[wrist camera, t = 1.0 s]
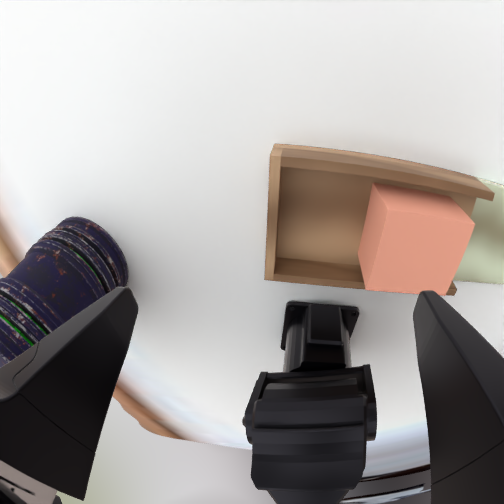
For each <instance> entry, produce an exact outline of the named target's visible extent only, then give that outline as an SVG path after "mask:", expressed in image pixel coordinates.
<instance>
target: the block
mask: <svg viewBox="0 0 504 504" xmlns="http://www.w3.org/2000/svg"><path fill="white" fill-rule="evenodd" d="M474 226H475V223H474V222H473V221H472V220H471V219H470V217H469V216H468V215H467V214H466V213H465V212H464V211H463V210H462V209H461V208H460V206H459V205H458V204H457V203H456V202H455V201H454V200H453V199H452V198H451V197H450V196H446V195H441V194H436V193H431V192H426V191H421V190H415V189H410V188H404V187H398V186H392V185H386V184H379V183H373V184H372V189H371V194H370V200H369V205H368V210H367V214H366V219H365V224H364V228H363V233H362V237H361V241H360V246H359V250H358V258H359V262H360V266H361V271H362V275H363V280H364V284H365V289H366V290H372V291H385V292H398V293H412V294H420V292H421V291H425V290H433V291H435V292H436V293H437V294H438V295H442V296H445V295H446V293H447V291H448V289H449V287H450V284H451V282H452V280H453V278H454V276H455V274H456V271H457V269H458V267H459V265H460V262H461V260H462V257H463V255H464V253H465V250H466V248H467V245H468V243H469V240H470V237H471V235H472V232H473V229H474Z"/></svg>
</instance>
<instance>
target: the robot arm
mask: <svg viewBox="0 0 504 504" xmlns="http://www.w3.org/2000/svg"><path fill="white" fill-rule="evenodd" d="M291 307H293V308H291ZM352 312H355V313H352ZM137 314H138V305H137V302H136V300H135V298H134V296H133V294H132V291H131V290H130V289H129V288H128V287H117V288H115V289H114V290H112V291H111V292H109V293H108V294H106V295H105V296H103V297H102V298H100V299H99V300H97V301H96V302H94V303H93V304H91V305H90V306H88V307H87V308H86V309H84V310H83V311H81V312H80V313H78V314H77V315H75V316H74V317H73V318H71V319H70V320H68V321H67V322H65V323H64V324H63V325H61V326H60V327H58V328H57V329H56V330H54V331H53V332H51V333H50V334H49V335H47V336H46V337H44V338H43V339H42V340H40V342H37V343H36V344H35V345H33V346H32V347H31V348H29V349H28V350H26V351H25V352H24V353H22V354H21V355H19V356H18V357H16V358H15V359H13V360H12V361H10V362H9V363H7V364H5V365H4V366H2V367H1V368H0V504H62V502H61V499H60V497H59V496H57V495H56V493H57V490H58V491H60V492H63V493H65V494H67V495H70V496H72V497H75V498H77V499H80V500H82V501H83V500H84V498H85V494H86V490H87V485H88V481H89V477H90V473H91V469H92V465H93V461H94V457H95V452H96V449H97V445H98V441H99V438H100V434H101V431H102V427H103V424H104V421H105V417H106V414H107V411H108V408H109V404H110V401H111V398H112V395H113V392H114V389H115V386H116V383H117V380H118V377H119V374H120V371H121V368H122V366H123V363H124V360H125V357H126V354H127V351H128V348H129V344H130V340H131V336H132V333H133V329H134V325H135V321H136V318H137ZM358 316H359V310H358V308H357V307H349V306H336V305H325V304H313V303H303V302H288V303H287V304H286V310H285V318H284V326H283V333H282V340H281V349H282V350H285V358H284V368H283V372H278V373H268V372H261V373H260V375H259V378H258V380H257V381H256V384H255V387H254V389H253V392H252V395H251V397H250V400H249V403H248V405H247V408H246V411H245V416H244V417H243V420H242V423H243V425H244V426H245V427H246V435H247V439H248V442H249V443H250V444H252V451H253V454H252V468H251V478H252V480H253V482H254V484H255V487H256V488H257V489H258V490H267V491H268V492H269V494H270V495H271V497H272V498H273V499H274V501H275V502H276V503H277V504H339V502H340V501H341V500H342V499H343V498H344V496H345V495H346V494H347V493H348V491H349V490H352V489H354V488H355V487H356V485H357V484H358V482H359V481H360V479H361V477H362V475H363V471H364V469H365V464H366V442H367V441H372V440H375V437H376V430H377V407H376V398H375V392H374V386H373V380H372V374H371V369H370V364H367V365H363V366H359V367H351V354H350V342H349V340H350V337H351V335H352V332H353V329H354V327H355V324H356V321H357V319H358ZM413 321H414V329H415V338H416V348H417V358H418V366H419V372H420V377H421V383H422V389H423V396H424V403H425V410H426V418H427V427H428V437H429V449H430V465H431V484H432V485H431V504H504V358H503V357H502V356H501V355H500V354H499V353H498V352H497V351H496V350H495V349H494V348H493V347H492V345H491V344H490V343H489V342H488V341H487V340H486V339H485V338H484V337H483V336H482V335H481V334H480V333H479V332H478V331H477V330H476V329H475V328H474V327H473V326H472V325H470V324H469V323H468V322H467V321H466V320H465V319H464V318H463V317H462V316H461V315H460V314H459V313H458V312H457V311H456V310H455V309H454V308H453V307H452V306H450V305H449V304H448V303H447V302H446V301H445V300H444V299H443V298H442V297H441V296H439V295H438V294H437V293H436V292H435V291H433V290H425V291H421V292H420V294H419V296H418V300H417V303H416V306H415V308H414V312H413Z"/></svg>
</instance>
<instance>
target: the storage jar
mask: <svg viewBox="0 0 504 504" xmlns="http://www.w3.org/2000/svg"><path fill="white" fill-rule="evenodd" d="M127 282H128V267H127V263H126V260H125V257H124V255H123V253H122V251H121V249H120V248H119V246H118V245H117V243H116V242H115V241H114V239H113V238H112V237H111V236H110V235H109V234H108V233H107V232H106V231H105V230H104V229H103V228H101V227H100V226H99V225H97V224H96V223H94V222H92V221H90V220H88V219H85V218H81V217H70V218H67V219H65V220H63V221H62V222H61V223H60V224H59V225H58V226H57V227H56V228H54V229H52V230H51V231H49V232H48V233H46V234H45V235H44V236H43V237H42V238H40V239H39V241H38V242H37V243H35V244H34V245H33V246H32V247H31V248H30V249H29V251H28V252H27V253H26V256H25V258H24V259H23V260H22V261H21V262H20V263H19V264H18V265H17V266H16V267H15V268H14V269H13V270H12V271H11V272H10V273H9V275H8V276H7V277H6V278H1V279H0V368H1V367H2V366H4V365H5V364H7V363H9V362H10V361H12V360H13V359H15V358H16V357H18V356H19V355H21V354H22V353H24V352H25V351H26V350H28V349H29V348H31V347H32V346H33V345H35V344H36V343H37V342H40V340H42V339H43V338H44V337H46V336H47V335H49V334H50V333H51V332H53V331H54V330H56V329H57V328H58V327H60V326H61V325H63V324H64V323H65V322H67V321H68V320H70V319H71V318H73V317H74V316H75V315H77V314H78V313H80V312H81V311H83V310H84V309H86V308H87V307H88V306H90V305H91V304H93V303H94V302H96V301H97V300H99V299H100V298H102V297H103V296H105V295H106V294H108V293H109V292H111V291H112V290H114V289H115V288H117V287H125V286H126V284H127Z"/></svg>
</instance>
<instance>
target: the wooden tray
mask: <svg viewBox="0 0 504 504" xmlns="http://www.w3.org/2000/svg"><path fill="white" fill-rule="evenodd" d="M373 183H379V184H386V185H392V186H398V187H404V188H410V189H415V190H421V191H426V192H431V193H436V194H441V195H446V196H450V197H451V198H452V199H453V200H454V201H455V202H456V203H457V204H458V205H459V206H460V208H461V209H462V210H463V211H464V212H465V213H466V214H467V215H468V216H469V217H470V219H471V220H472V221H473V222H474V223H475V226H474V229H473V232H472V235H471V237H470V240H469V243H468V245H467V248H466V250H465V253H464V255H463V257H462V260H461V262H460V265H459V267H458V269H457V271H456V274H455V276H454V278H453V280H456V281H468V282H480V283H493V284H504V186H503V185H500V184H497V183H494V182H491V181H487V180H484V179H480V178H477V177H473V176H470V175H466V174H462V173H458V172H454V171H450V170H446V169H442V168H438V167H434V166H429V165H425V164H420V163H415V162H410V161H405V160H400V159H394V158H389V157H383V156H377V155H371V154H365V153H358V152H351V151H343V150H336V149H327V148H318V147H309V146H298V145H286V144H274V146H273V149H272V151H271V154H270V166H269V192H268V215H267V238H266V259H265V279H264V280H271V281H281V282H291V283H301V284H311V285H322V286H333V287H344V288H356V289H365V284H364V280H363V275H362V271H361V266H360V262H359V258H358V250H359V246H360V241H361V237H362V233H363V228H364V224H365V219H366V214H367V210H368V205H369V200H370V194H371V189H372V184H373ZM456 291H457V289H456V287H455V285H454V283H453V281H452V282H451V284H450V287H449V289H448V291H447V293H446V295H452V296H454V295H455V293H456Z"/></svg>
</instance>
